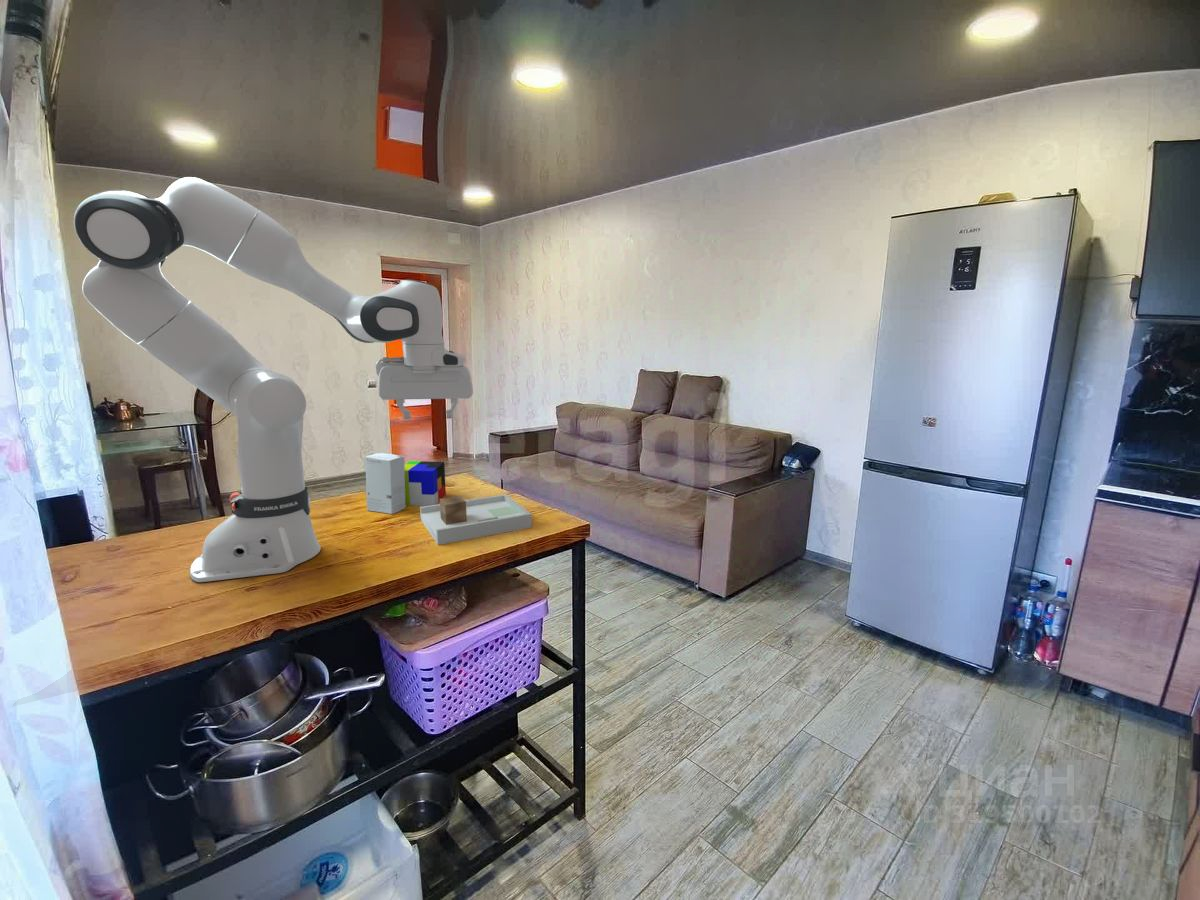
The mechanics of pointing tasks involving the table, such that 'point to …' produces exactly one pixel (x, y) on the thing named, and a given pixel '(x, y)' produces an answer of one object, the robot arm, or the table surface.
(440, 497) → the puzzle toy
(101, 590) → the table surface
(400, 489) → the skincare box
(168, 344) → the robot arm
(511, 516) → the platform
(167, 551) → the table surface
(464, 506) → the walnut block
